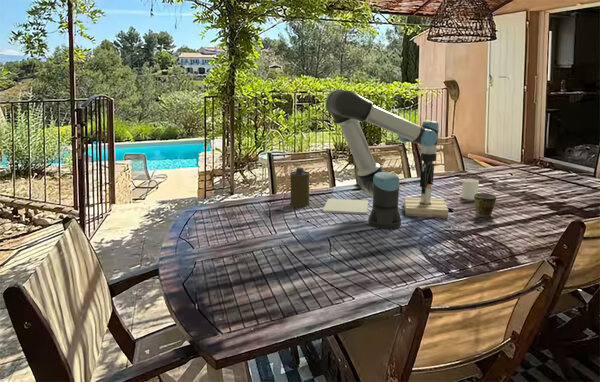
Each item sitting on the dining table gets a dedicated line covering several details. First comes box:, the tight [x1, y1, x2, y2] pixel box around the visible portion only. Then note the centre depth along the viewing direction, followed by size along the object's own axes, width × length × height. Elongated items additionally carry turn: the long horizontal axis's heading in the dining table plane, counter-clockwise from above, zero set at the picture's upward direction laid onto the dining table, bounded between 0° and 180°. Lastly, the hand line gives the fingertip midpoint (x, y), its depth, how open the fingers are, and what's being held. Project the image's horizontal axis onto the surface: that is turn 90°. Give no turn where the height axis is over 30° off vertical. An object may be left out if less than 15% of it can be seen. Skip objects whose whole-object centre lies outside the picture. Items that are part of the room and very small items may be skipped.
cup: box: [461, 178, 479, 201], centre depth 249 cm, size 8×12×10 cm
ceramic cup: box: [474, 192, 497, 218], centre depth 216 cm, size 13×10×10 cm
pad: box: [322, 198, 369, 215], centre depth 233 cm, size 22×22×1 cm
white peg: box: [420, 183, 432, 205], centre depth 224 cm, size 5×5×13 cm
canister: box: [289, 167, 311, 208], centre depth 236 cm, size 11×10×20 cm
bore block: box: [403, 196, 449, 219], centre depth 225 cm, size 20×20×4 cm
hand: (425, 198), depth 224 cm, fingers closed on white peg, 5 cm apart
